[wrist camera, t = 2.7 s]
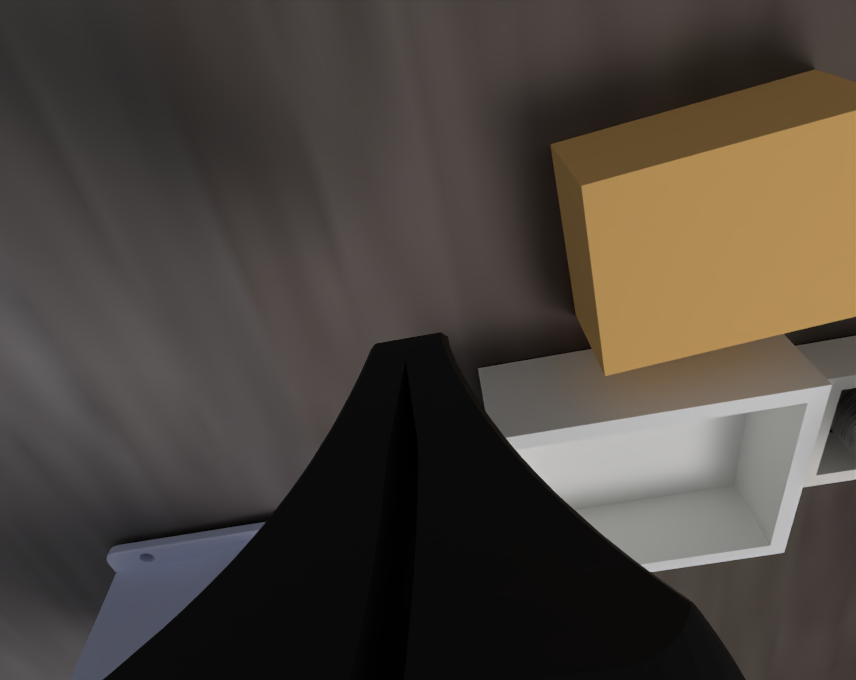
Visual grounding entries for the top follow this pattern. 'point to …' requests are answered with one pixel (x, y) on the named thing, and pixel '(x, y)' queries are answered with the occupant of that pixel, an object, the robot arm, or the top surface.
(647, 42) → the top surface
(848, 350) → the pin bracket
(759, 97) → the block
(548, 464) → the tray
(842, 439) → the pin
